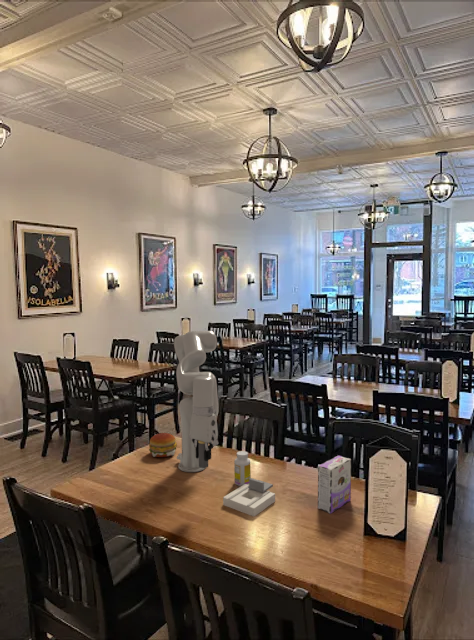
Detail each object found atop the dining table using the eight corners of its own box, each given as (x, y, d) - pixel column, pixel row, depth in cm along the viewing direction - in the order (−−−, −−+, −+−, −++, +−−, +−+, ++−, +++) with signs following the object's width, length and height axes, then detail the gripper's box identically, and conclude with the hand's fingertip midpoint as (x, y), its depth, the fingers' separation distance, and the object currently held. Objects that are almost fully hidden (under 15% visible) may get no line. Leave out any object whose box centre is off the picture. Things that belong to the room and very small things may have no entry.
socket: (223, 505, 164) (223, 496, 164) (245, 491, 176) (245, 483, 175) (254, 516, 156) (254, 507, 156) (275, 501, 167) (275, 492, 167)
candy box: (337, 495, 171) (338, 454, 170) (351, 501, 167) (351, 458, 166) (316, 508, 162) (317, 464, 161) (330, 514, 158) (331, 469, 156)
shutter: (248, 488, 171) (248, 478, 170) (258, 481, 176) (258, 472, 176) (262, 493, 167) (262, 483, 166) (272, 486, 172) (272, 476, 172)
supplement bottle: (251, 480, 185) (251, 450, 184) (250, 487, 179) (250, 456, 178) (235, 479, 186) (235, 449, 185) (233, 486, 180) (233, 455, 179)
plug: (196, 466, 164) (196, 440, 163) (203, 463, 166) (202, 437, 166) (203, 469, 161) (203, 442, 160) (210, 465, 164) (210, 439, 163)
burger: (163, 447, 224) (162, 427, 224) (183, 452, 216) (182, 432, 216) (143, 455, 213) (142, 435, 213) (163, 461, 205) (163, 440, 205)
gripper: (227, 411, 160) (227, 460, 162) (193, 404, 170) (193, 450, 172) (213, 416, 154) (214, 467, 156) (179, 408, 164) (180, 456, 166)
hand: (203, 457), depth 164 cm, fingers closed on plug, 3 cm apart
